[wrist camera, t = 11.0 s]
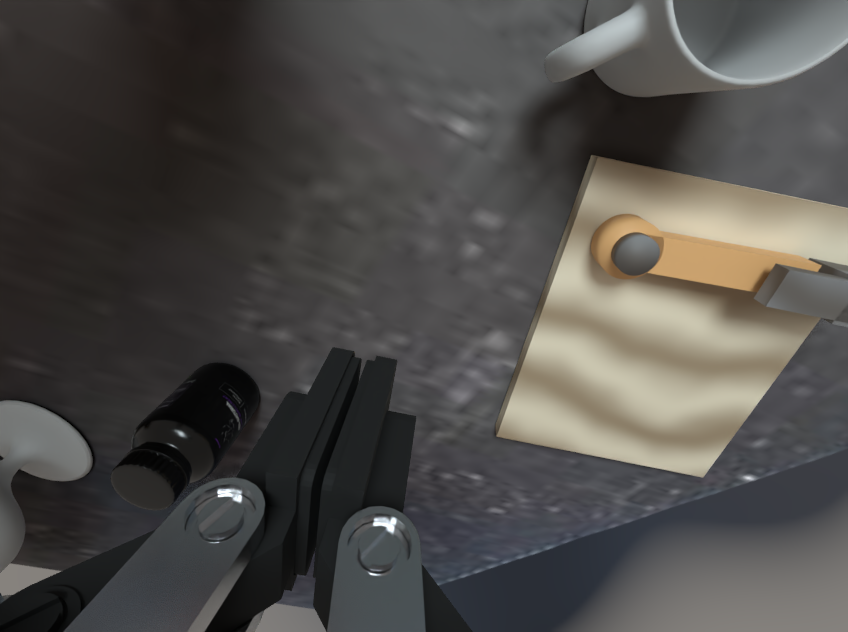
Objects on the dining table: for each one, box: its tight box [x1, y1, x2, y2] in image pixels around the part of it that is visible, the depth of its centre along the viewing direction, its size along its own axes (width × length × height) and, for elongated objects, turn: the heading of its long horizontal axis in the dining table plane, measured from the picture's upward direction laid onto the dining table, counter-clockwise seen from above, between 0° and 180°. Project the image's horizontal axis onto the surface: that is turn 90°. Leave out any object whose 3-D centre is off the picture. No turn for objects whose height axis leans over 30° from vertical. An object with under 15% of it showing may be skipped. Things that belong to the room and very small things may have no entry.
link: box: [591, 214, 822, 292], centre depth 27 cm, size 14×4×2 cm, turn 81°
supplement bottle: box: [110, 363, 259, 510], centre depth 34 cm, size 7×7×12 cm
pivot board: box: [495, 155, 848, 477], centre depth 31 cm, size 25×20×6 cm
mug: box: [544, 0, 848, 97], centre depth 19 cm, size 12×8×11 cm
